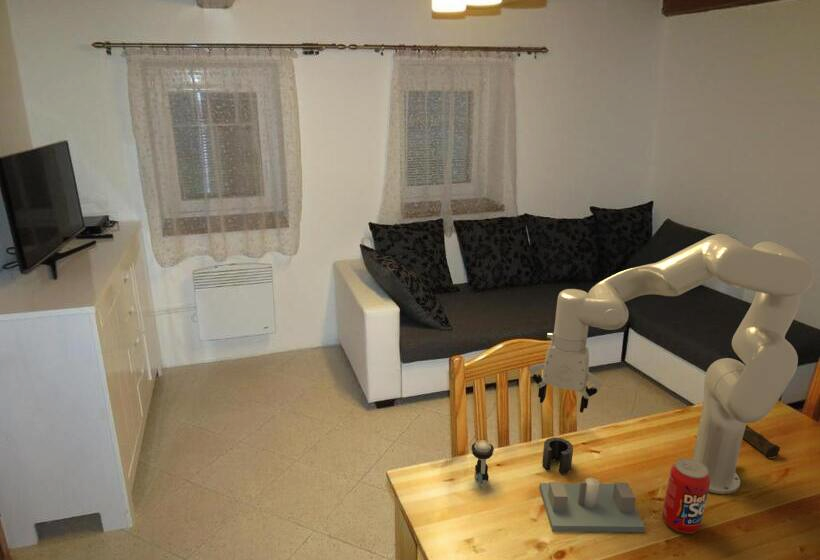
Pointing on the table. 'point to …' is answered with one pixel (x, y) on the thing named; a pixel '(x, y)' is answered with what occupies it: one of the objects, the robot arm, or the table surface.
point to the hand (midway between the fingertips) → (562, 404)
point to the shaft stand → (591, 507)
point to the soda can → (686, 495)
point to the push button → (482, 460)
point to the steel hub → (558, 454)
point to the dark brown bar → (760, 443)
